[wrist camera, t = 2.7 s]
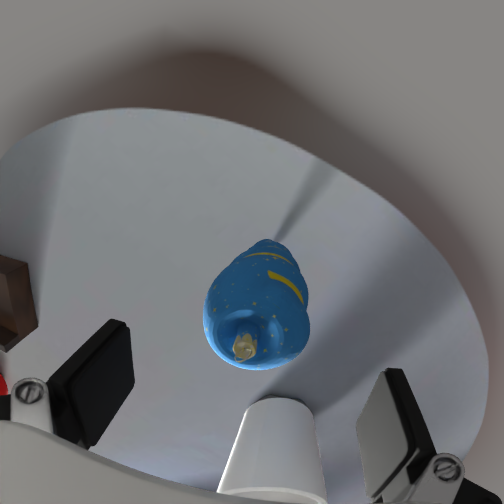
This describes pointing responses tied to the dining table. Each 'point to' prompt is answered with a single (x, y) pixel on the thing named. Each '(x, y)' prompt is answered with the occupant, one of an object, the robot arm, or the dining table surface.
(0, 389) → the tomato
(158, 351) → the dining table surface
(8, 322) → the shelf
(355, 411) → the dining table surface
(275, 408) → the cup
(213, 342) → the ornament
